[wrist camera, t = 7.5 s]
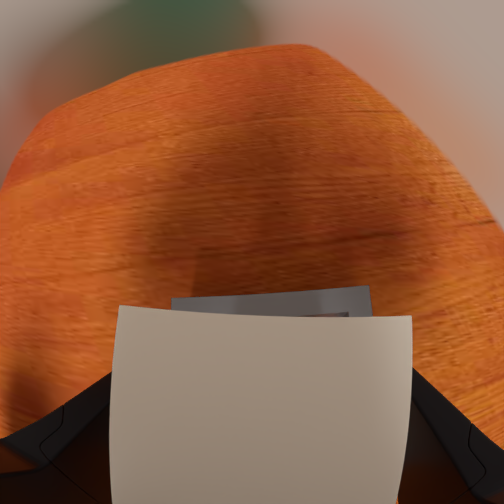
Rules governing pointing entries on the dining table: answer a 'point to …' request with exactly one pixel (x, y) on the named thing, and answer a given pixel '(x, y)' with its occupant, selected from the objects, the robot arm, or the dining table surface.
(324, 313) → the grey square frame
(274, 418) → the white rectangular block
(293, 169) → the dining table surface
